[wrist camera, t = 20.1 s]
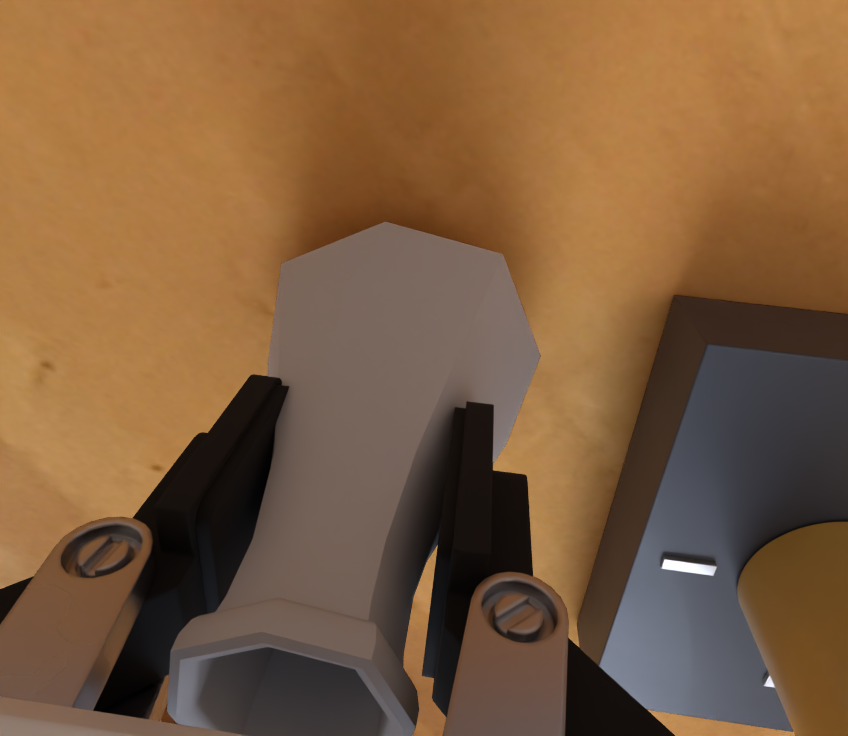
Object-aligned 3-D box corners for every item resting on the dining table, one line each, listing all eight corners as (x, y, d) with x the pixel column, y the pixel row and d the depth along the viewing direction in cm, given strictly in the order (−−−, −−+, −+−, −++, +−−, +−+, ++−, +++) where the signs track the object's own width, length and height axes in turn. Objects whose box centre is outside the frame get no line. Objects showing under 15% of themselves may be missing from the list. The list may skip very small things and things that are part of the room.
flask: (294, 463, 18) (109, 847, 10) (242, 225, 15) (-115, 486, 6) (538, 464, 17) (577, 892, 9) (541, 210, 14) (608, 494, 5)
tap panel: (673, 294, 16) (709, 347, 13) (1070, 339, 16) (1193, 403, 13) (576, 623, 22) (587, 706, 20) (857, 664, 22) (908, 755, 19)
